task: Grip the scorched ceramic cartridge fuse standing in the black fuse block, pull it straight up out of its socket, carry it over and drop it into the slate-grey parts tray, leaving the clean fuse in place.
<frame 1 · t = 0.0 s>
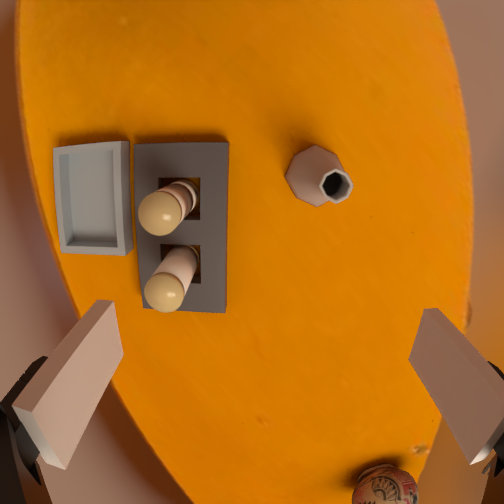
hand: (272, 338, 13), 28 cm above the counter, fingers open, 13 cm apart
blown fuse: (183, 195, 39), resting in fuse block
flask: (315, 175, 38), on the counter
fuse block: (183, 227, 40), on the counter
parts tray: (96, 196, 38), on the counter
ceramic jug: (375, 471, 59), on the counter
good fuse: (184, 257, 41), resting in fuse block
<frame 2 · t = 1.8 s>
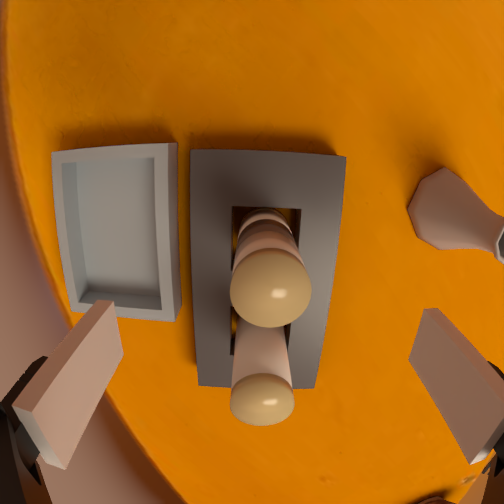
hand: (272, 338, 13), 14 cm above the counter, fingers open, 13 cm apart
blown fuse: (264, 231, 26), resting in fuse block
flask: (440, 207, 25), on the counter
fuse block: (261, 277, 27), on the counter
parts tray: (122, 227, 26), on the counter
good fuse: (259, 317, 29), resting in fuse block
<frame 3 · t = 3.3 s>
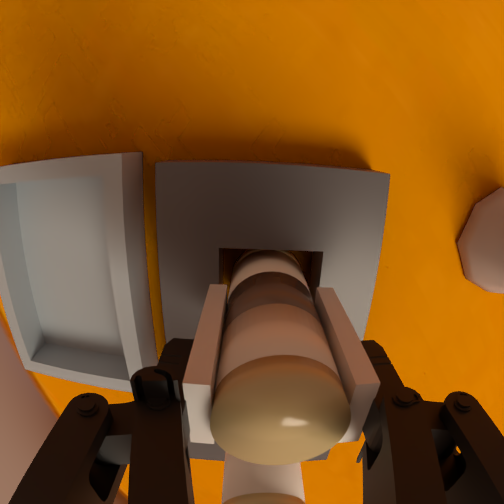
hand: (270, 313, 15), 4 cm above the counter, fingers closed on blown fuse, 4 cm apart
blown fuse: (267, 277, 18), resting in fuse block, touching gripper
flask: (492, 239, 18), on the counter
fuse block: (263, 336, 20), on the counter
parts tray: (76, 268, 18), on the counter
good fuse: (260, 382, 21), resting in fuse block
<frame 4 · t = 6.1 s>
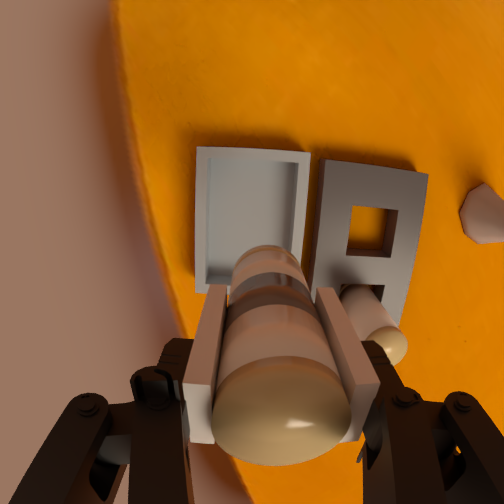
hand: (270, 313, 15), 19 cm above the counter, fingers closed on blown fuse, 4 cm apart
blown fuse: (267, 278, 18), point 15 cm above the counter, touching gripper
flask: (479, 212, 32), on the counter
fuse block: (359, 262, 34), on the counter
parts tray: (249, 218, 32), on the counter
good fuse: (353, 295, 35), resting in fuse block
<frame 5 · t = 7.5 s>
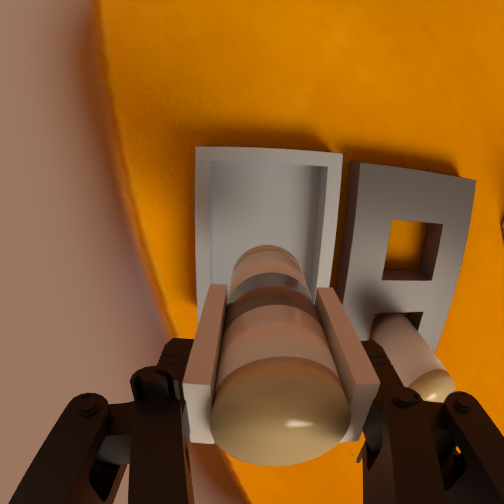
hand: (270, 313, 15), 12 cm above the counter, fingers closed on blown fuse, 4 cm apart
blown fuse: (266, 278, 18), point 8 cm above the counter, touching gripper
fuse block: (393, 284, 27), on the counter
parts tray: (264, 236, 26), on the counter
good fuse: (384, 322, 29), resting in fuse block
when the fingers open (6 cm above the counter, at t = 8.8 s): blown fuse drops 1 cm, resting on parts tray.
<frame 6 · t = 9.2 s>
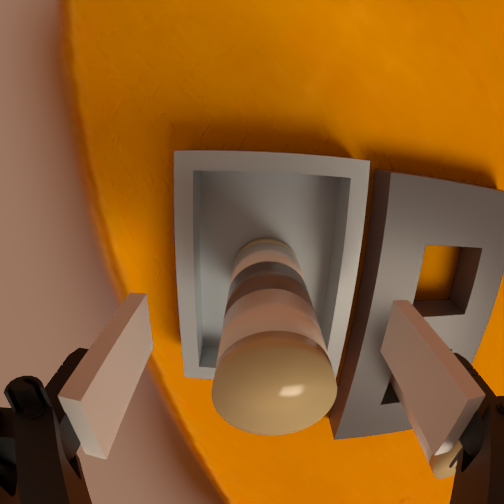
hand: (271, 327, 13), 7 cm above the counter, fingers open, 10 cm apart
blown fuse: (265, 268, 20), point 1 cm above the counter, touching parts tray
fuse block: (418, 317, 22), on the counter
parts tray: (265, 264, 20), on the counter
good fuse: (405, 359, 23), resting in fuse block
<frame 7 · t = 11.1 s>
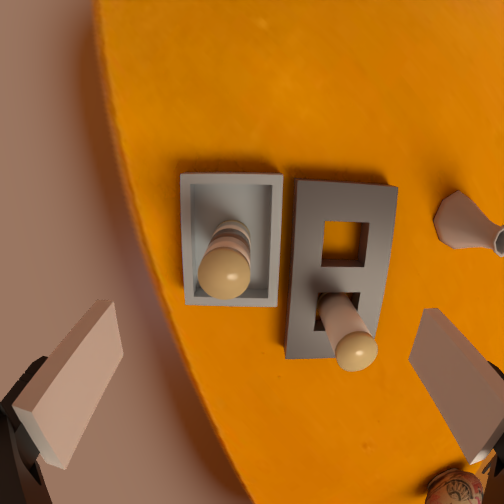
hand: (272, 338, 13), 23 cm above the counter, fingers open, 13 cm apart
blown fuse: (231, 237, 35), point 1 cm above the counter, touching parts tray
flask: (454, 219, 35), on the counter
fuse block: (335, 271, 37), on the counter
parts tray: (232, 236, 35), on the counter
ceramic jug: (442, 476, 55), on the counter
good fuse: (332, 302, 38), resting in fuse block
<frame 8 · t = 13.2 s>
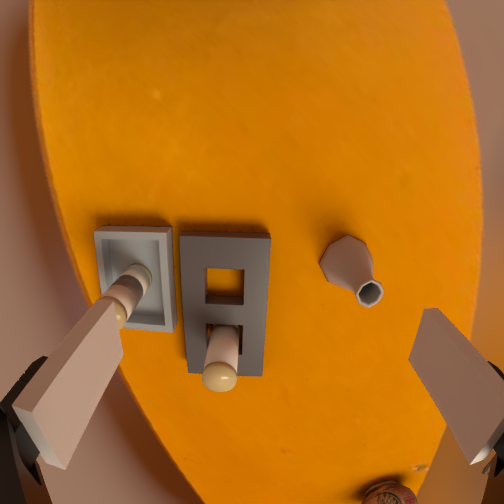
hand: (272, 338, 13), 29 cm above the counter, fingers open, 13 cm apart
blown fuse: (138, 276, 42), point 1 cm above the counter, touching parts tray
flask: (345, 261, 42), on the counter
fuse block: (225, 305, 44), on the counter
parts tray: (139, 275, 43), on the counter
ceramic jug: (380, 486, 63), on the counter
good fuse: (225, 330, 45), resting in fuse block
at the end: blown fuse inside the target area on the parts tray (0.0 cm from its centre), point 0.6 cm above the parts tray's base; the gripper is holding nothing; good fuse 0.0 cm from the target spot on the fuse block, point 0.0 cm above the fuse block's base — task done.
